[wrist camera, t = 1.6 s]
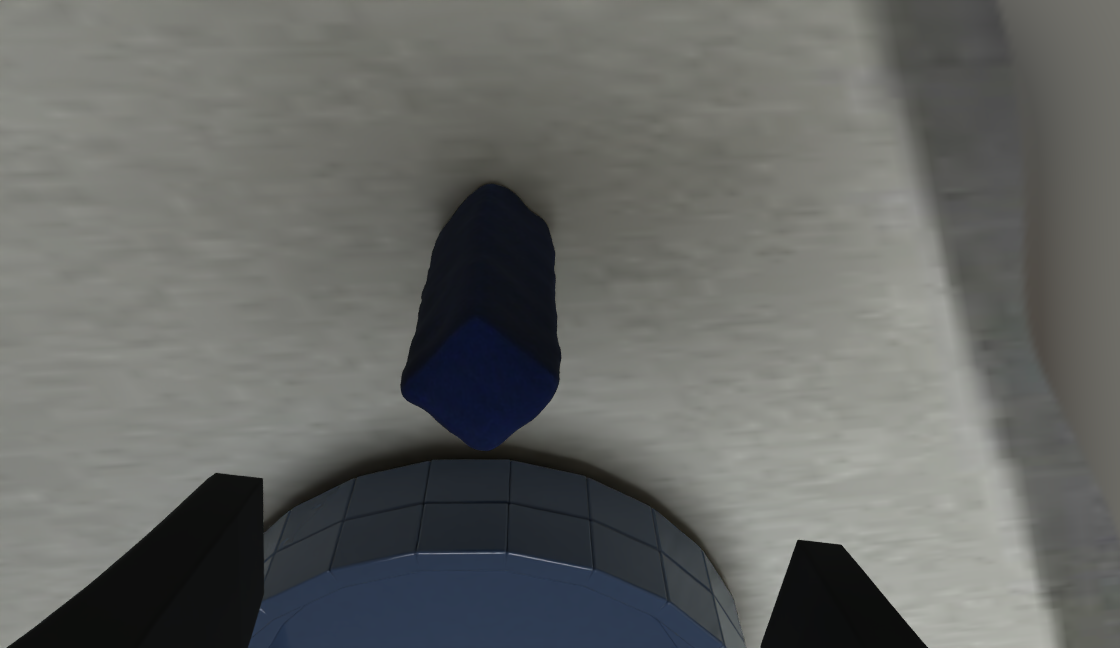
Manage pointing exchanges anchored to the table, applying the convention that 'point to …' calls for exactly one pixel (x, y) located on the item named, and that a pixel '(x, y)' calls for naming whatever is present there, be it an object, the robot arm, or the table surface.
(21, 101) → the table surface
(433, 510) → the bowl
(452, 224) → the eraser
